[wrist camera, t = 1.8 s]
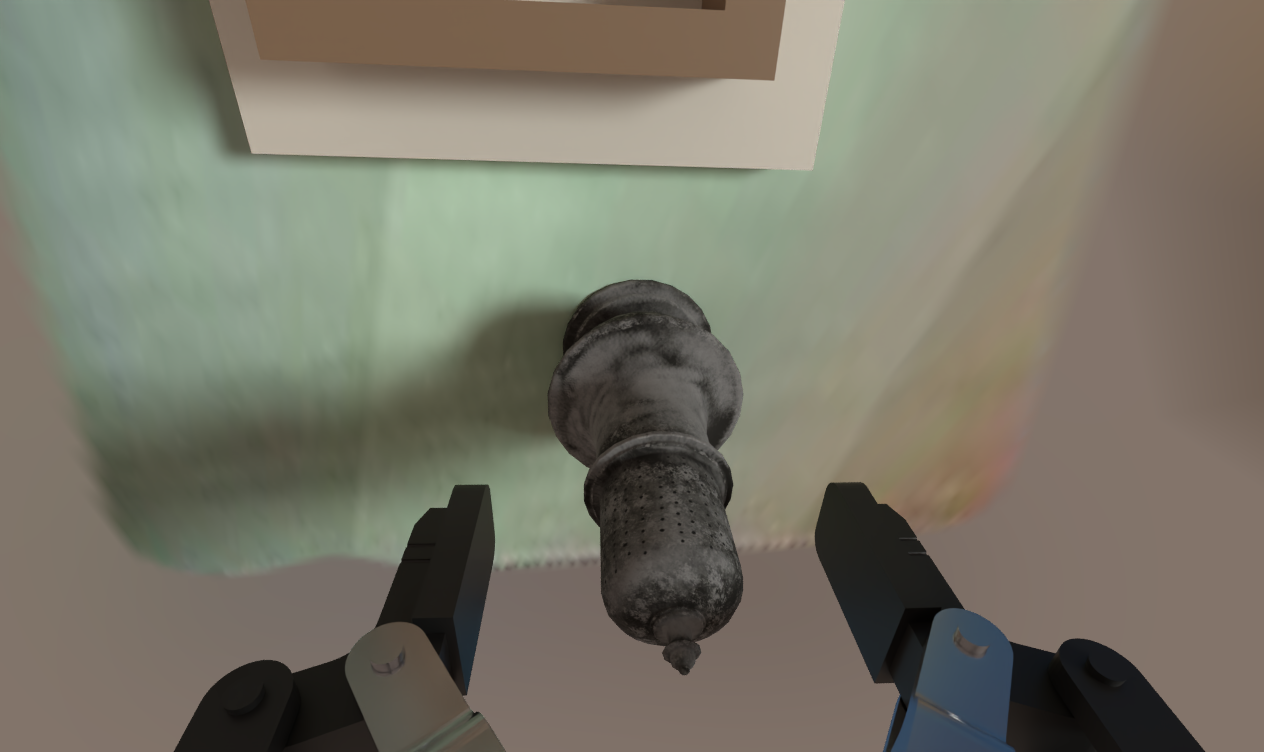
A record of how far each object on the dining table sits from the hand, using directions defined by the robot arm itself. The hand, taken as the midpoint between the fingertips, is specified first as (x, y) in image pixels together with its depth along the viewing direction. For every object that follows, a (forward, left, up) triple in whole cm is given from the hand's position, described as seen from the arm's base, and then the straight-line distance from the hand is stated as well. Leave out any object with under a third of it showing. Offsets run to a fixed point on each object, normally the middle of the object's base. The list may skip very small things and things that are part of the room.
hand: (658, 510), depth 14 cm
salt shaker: (0, 0, -8) cm, 8 cm away
